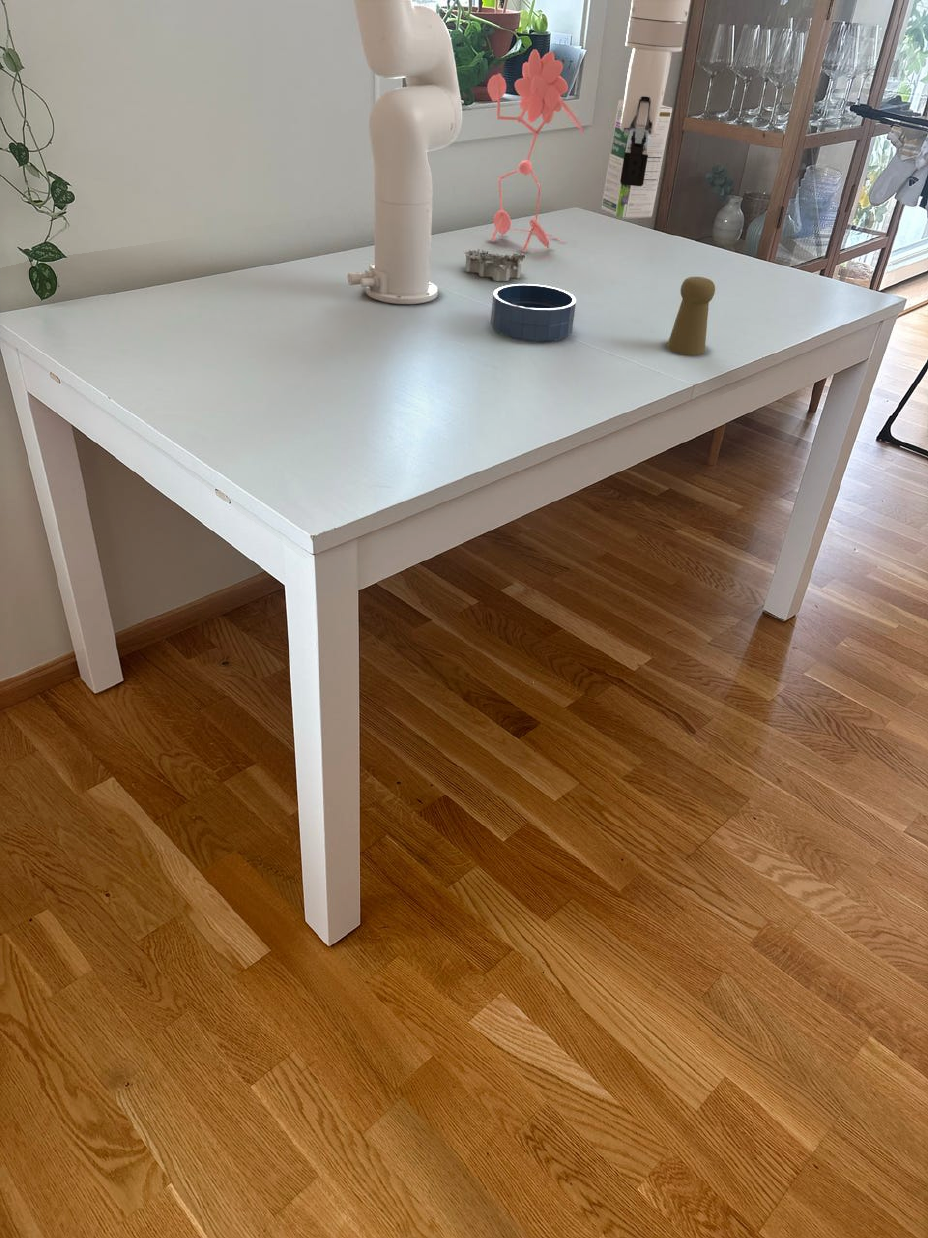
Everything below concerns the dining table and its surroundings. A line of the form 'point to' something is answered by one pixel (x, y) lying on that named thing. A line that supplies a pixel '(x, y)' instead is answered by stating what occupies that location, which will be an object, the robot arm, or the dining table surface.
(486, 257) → the egg carton
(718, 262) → the dining table surface
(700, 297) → the olive brown pawn
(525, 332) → the bowl
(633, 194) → the syrup box
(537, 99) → the figurine
